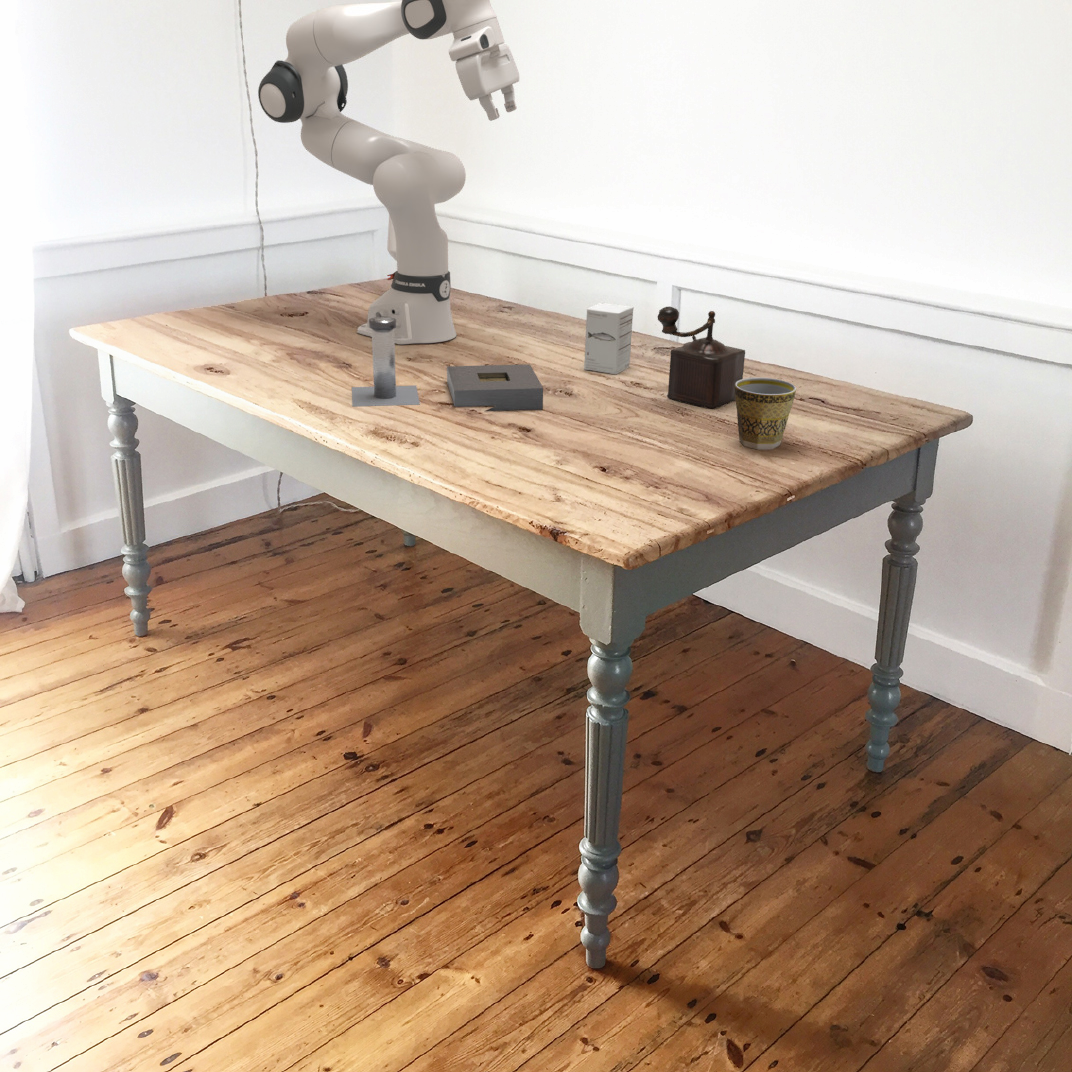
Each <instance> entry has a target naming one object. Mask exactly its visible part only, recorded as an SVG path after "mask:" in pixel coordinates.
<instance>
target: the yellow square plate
mask: <svg viewBox="0 0 1072 1072" xmlns="http://www.w3.org/2000/svg"><path fill="white" fill-rule="evenodd" d="M479 380H480V382H484V381H506V378H488V379H479Z"/></svg>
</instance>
